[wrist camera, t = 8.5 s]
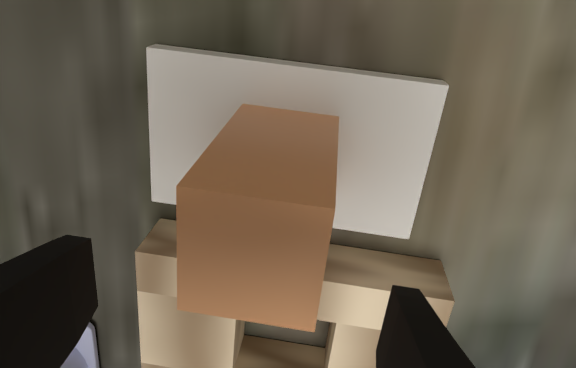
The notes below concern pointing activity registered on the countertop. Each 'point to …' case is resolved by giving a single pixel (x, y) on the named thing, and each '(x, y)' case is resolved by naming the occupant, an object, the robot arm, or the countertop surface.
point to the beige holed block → (267, 352)
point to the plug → (259, 218)
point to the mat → (307, 98)
